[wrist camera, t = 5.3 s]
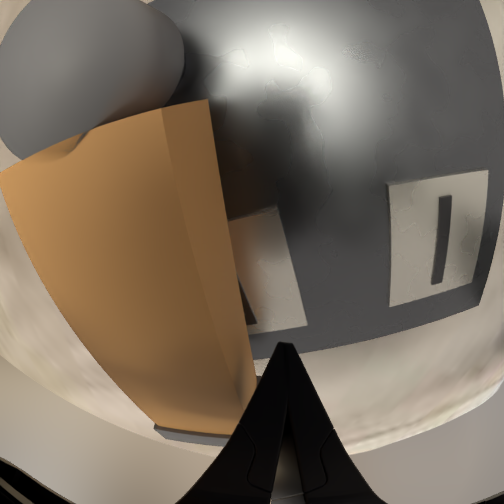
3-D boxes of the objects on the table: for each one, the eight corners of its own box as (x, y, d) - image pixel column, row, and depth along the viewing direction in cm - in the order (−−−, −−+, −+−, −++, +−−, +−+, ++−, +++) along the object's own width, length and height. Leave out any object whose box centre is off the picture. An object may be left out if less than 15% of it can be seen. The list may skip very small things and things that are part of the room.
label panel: (468, 288, 13) (490, 325, 10) (207, 344, 16) (198, 388, 14) (451, -15, 4) (493, -27, 1) (72, 68, 8) (20, 74, 5)
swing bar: (55, 46, 5) (-30, 55, 2) (203, -14, 4) (152, -74, 1) (178, 386, 14) (166, 438, 11) (263, 390, 13) (260, 448, 10)
